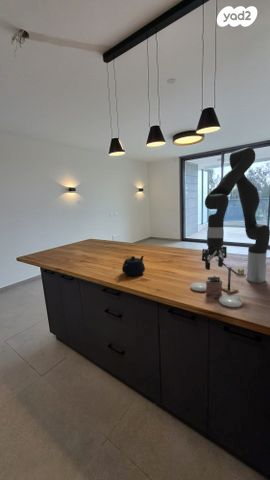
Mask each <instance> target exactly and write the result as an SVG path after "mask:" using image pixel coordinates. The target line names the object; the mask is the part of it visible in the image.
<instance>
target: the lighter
mask: <svg viewBox="0 0 270 480" xmlns="http://www.w3.org/2000/svg"><path fill="white" fill-rule="evenodd" d="M205 284H206V291H205V296H206V297H207V298H208V297H210V298H217V297H221V296H223V293H222V291H223V290H222V287H223V280H221V277H220V276H215V275H214V276H208V277H207V280H206V281H205Z"/></svg>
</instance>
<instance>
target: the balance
mask: <svg viewBox="0 0 270 480" xmlns="http://www.w3.org/2000/svg"><path fill="white" fill-rule="evenodd" d="M218 259H219V258H215V261H216V262H218ZM224 262H225V259H224V260H223V266H224V267H225V268H227V270H228V271H227V272H228V273H227V274H228V275H227V285H222V291H223V292H225V293H228V294H230V295H231V294H235V293H237V292H239V290H238V289H237V288H235V287H232V286H231V276H232V275H231V274H232V273H234V274H235V276H236V277H238V278H247V274H245V269H243V268H238V269H237V271H235V270H234V269H233V268H232V267H231V266H228V265H227V264H226V263H224Z"/></svg>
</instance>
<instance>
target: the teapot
mask: <svg viewBox="0 0 270 480" xmlns="http://www.w3.org/2000/svg"><path fill="white" fill-rule="evenodd" d="M121 270H122V272H123V274H124V275H126V276H129V277H137V276H141V275H143V273H144V272H145V270H146V267H145V264H144V255H142V256H141V257H140V258H138V257H136V256H133V255H132V256H130V258H126V259H125V260H124V261H123V264H122V268H121Z"/></svg>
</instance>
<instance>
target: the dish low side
mask: <svg viewBox="0 0 270 480" xmlns="http://www.w3.org/2000/svg"><path fill="white" fill-rule="evenodd" d="M218 297H219V298H218V302H219V304H221V305H223V306H226V307H229V308H239V307H241V306H242V305H243V300H242V299H241V298H239V297H237V296H235V295H234V296H233V295H228V294H227V295H226V294H225V295H222V296H218Z"/></svg>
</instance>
